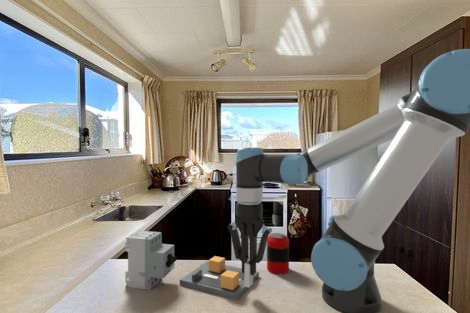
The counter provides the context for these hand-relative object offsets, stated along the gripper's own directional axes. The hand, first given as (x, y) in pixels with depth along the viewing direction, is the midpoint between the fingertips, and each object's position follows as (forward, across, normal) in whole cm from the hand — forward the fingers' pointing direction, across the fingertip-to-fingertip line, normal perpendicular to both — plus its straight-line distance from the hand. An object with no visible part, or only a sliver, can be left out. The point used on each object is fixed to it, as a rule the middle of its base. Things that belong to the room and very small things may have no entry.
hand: (248, 284), depth 77 cm
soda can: (+4, -2, -21) cm, 21 cm away
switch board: (+3, +12, -5) cm, 13 cm away
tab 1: (+2, +15, -8) cm, 17 cm away
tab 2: (+2, +6, 0) cm, 6 cm away
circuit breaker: (+4, +30, +6) cm, 31 cm away
